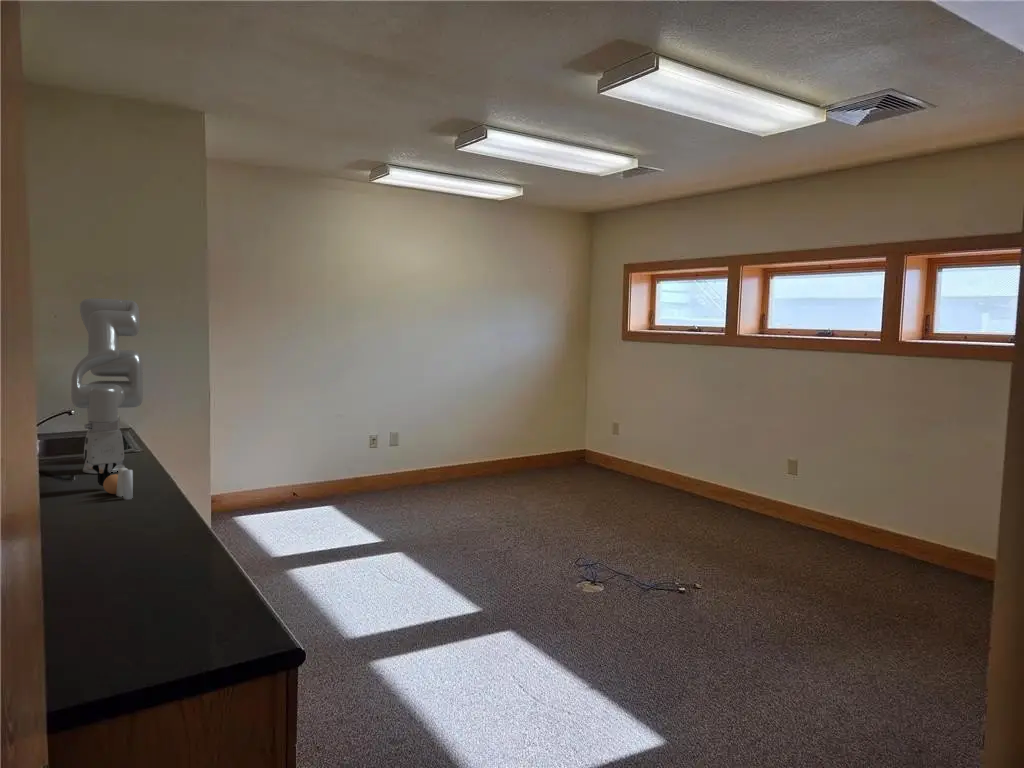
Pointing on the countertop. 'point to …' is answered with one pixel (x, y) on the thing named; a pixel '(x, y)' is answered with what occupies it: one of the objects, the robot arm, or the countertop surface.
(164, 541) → the countertop surface
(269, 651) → the countertop surface
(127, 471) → the pin
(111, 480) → the ball
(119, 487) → the pin
